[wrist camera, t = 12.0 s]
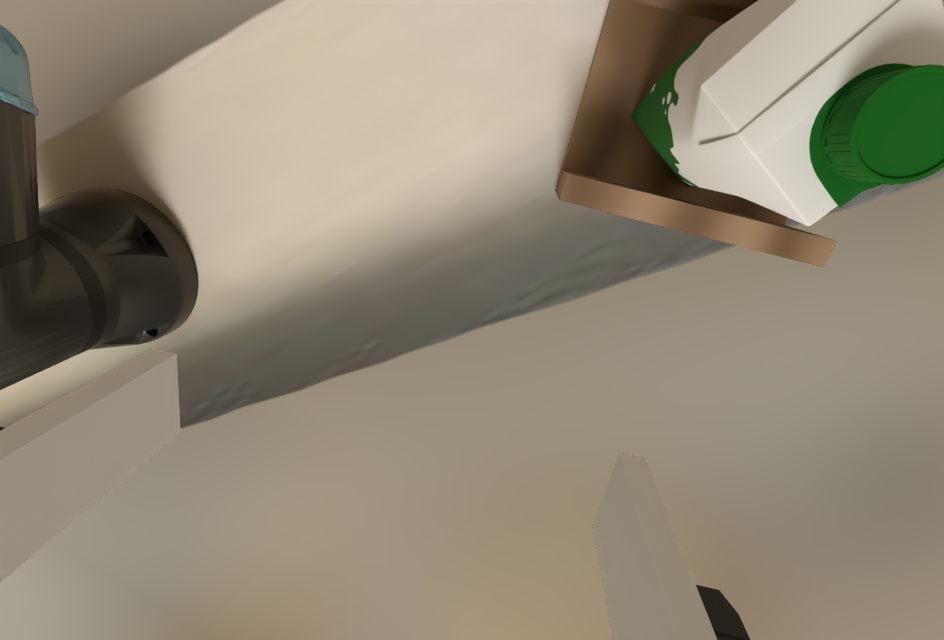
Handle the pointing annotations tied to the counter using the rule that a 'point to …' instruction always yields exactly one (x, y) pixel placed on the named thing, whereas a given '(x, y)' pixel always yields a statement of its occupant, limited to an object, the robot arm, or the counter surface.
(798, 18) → the soya milk
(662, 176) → the u rest
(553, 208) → the counter surface
